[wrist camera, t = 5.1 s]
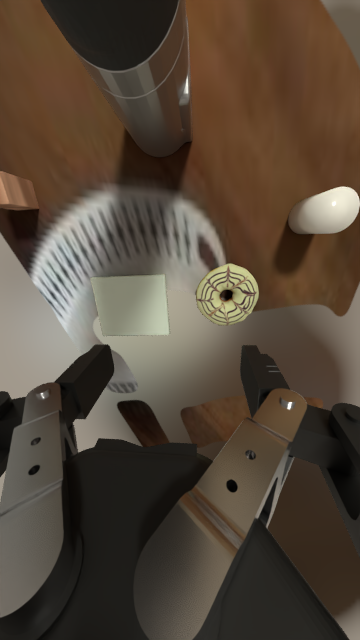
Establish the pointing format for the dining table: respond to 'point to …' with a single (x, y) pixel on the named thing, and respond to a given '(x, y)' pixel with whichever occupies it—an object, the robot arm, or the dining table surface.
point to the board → (132, 305)
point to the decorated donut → (237, 304)
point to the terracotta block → (16, 193)
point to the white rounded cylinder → (325, 212)
